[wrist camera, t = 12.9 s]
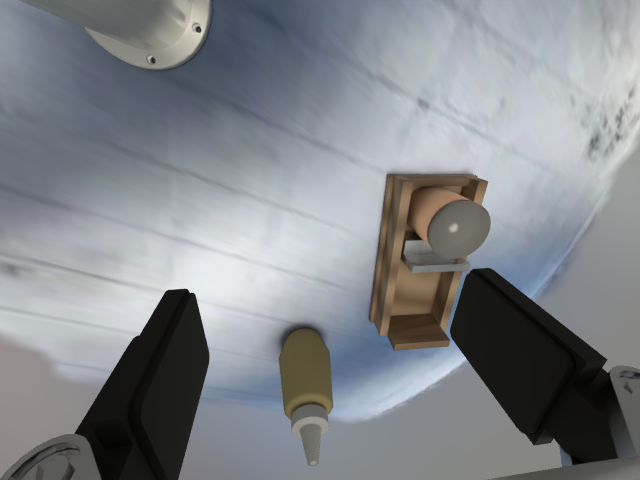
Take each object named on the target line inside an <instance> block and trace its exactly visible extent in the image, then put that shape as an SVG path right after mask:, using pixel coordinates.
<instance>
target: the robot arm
mask: <svg viewBox="0 0 640 480" xmlns="http://www.w3.org/2000/svg"><path fill="white" fill-rule="evenodd" d="M20 1H22V2H25V3H27V4H30V5H32V6H34V7H37V8H39V9H42V10H44V11H47V12H49V13H52V14H54V15H56V16H59V17H61V18H64V19H66V20H69V21H71V22H74V23H76V24H79V25H81V26H83V28H84V29H85V31H86V32H87V33H88V34H89V35H90V36H91V37H92V38H93V39H94V40H95V41H96V42H97V43H98V44H99V45H100V46H102V47H103V48H104V49H105V50H106V51H108V52H109V53H110V54H112V55H114V56H115V57H117V58H119V59H120V60H122V61H124V62H127V63H129V64H132V65H134V66H137V67H141V68H145V69H151V70H166V69H172V68H175V67H178V66H180V65H183V64H184V63H186V62H187V61H189V60H190V59H192V58H193V57H194V55H195V54H196V53H197V52H198V51H199V50H200V48H201V47H202V45H203V43H204V41H205V40H206V37H207V34H208V31H209V28H210V23H211V16H212V0H20ZM198 27H200V28H201V32H200V33H198V32H197V28H198ZM153 58H155V59H156V62H155V63H153V62H152V59H153ZM450 334H451V337H452V339H453V341H454V342H455V343H456V345H457V346H458V348H459V349H460V350H461V352H462V353H463V354H464V356H465V357H466V359H467V360H468V361H469V363H470V364H471V365H472V367H473V368H474V369H475V371H476V372H477V373H478V375H479V376H480V378H481V379H482V380H483V382H484V383H485V385H486V386H487V387H488V388H489V390H490V391H491V393H492V394H493V395H494V397H495V398H496V400H497V401H498V402H499V404H500V405H501V406H502V408H503V409H504V410H505V412H506V413H507V414H508V416H509V417H510V419H511V420H512V421H513V423H514V424H515V426H516V427H517V428H518V429H519V430H520V431H521V432H522V433H524V434H526V435H527V437H528V438H529V439H530V441H531V442H532V443H533V445H540V444H546V443H551V442H552V440H553V439H555V440H556V442H557V443H558V444H559V445H560V454H561V462H562V467H560V468H555V469H548V470H542V471H537V472H530V473H524V474H518V475H512V476H506V477H500V478H494V479H488V480H640V369H637V368H633V367H629V366H616V367H612V369H611V370H610V371H609V373H607V372H606V371H605V370H604V369H602V367H603V365H604V364H605V362H606V361H607V359H606V358H605V357H603V356H602V355H601V354H599V353H598V352H597V351H596V350H594V349H593V348H592V347H591V346H589V345H588V344H587V343H586V342H584V341H583V340H582V339H580V338H579V337H578V336H576V335H575V334H574V333H573V332H571V331H570V330H569V329H568V328H566V327H565V326H564V325H563V324H561V323H560V322H559V321H558V320H556V319H555V318H554V317H552V316H551V315H550V314H549V313H547V312H546V311H545V310H544V309H542V308H541V307H540V306H538V305H537V304H536V303H535V302H533V301H532V300H531V299H530V298H528V297H527V296H526V295H524V294H523V293H522V292H521V291H519V290H518V289H517V288H516V287H514V286H513V285H512V284H510V283H509V282H508V281H507V280H505V279H504V278H503V277H502V276H500V275H499V274H498V273H496V272H495V271H494V270H492V269H491V268H482V269H473V270H471V271H470V273H469V274H467V275H466V278H465V281H464V284H463V288H462V291H461V294H460V298H459V301H458V305H457V308H456V311H455V315H454V318H453V321H452V325H451V328H450ZM208 365H209V350H208V346H207V341H206V337H205V333H204V329H203V325H202V320H201V316H200V312H199V308H198V304H197V299H196V296H195V294H194V293H189V291H188V289H176V290H167V291H166V292H165V294H164V295H163V297H162V299H161V300H160V302H159V304H158V305H157V307H156V309H155V310H154V312H153V314H152V315H151V317H150V319H149V321H148V322H147V324H146V326H145V327H144V329H143V331H142V332H141V334H140V336H136V337H135V338H134V339H133V340H132V341H131V342H130V344H129V345H128V347H127V349H126V350H125V352H124V354H123V355H122V357H121V359H120V360H119V362H118V363H117V365H116V367H115V368H114V370H113V372H112V373H111V375H110V376H109V378H108V380H107V381H106V383H105V385H104V386H103V388H102V389H101V391H100V393H99V394H98V396H97V398H96V399H95V401H94V403H93V404H92V406H91V407H90V409H89V411H88V413H87V414H86V416H85V417H84V419H83V420H82V422H81V424H80V425H79V427H78V429H77V430H76V432H75V434H67V435H62V436H59V437H56V438H52V439H50V440H48V441H46V442H44V443H42V444H40V445H38V446H37V447H35V448H34V449H33V450H31V451H29V452H28V453H27V454H25V455H24V456H23V457H21V458H20V459H19V460H18V461H17V462H16V463H15V464H14V465H13V466H11V467H10V468H9V469H8V470H7V471H6V472H5V474H4V475H3V476H2V477H1V479H0V480H178V478H179V474H180V471H181V467H182V463H183V459H184V456H185V452H186V448H187V444H188V440H189V437H190V433H191V429H192V425H193V422H194V418H195V414H196V410H197V406H198V403H199V399H200V395H201V391H202V388H203V384H204V380H205V376H206V373H207V369H208Z"/></svg>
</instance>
